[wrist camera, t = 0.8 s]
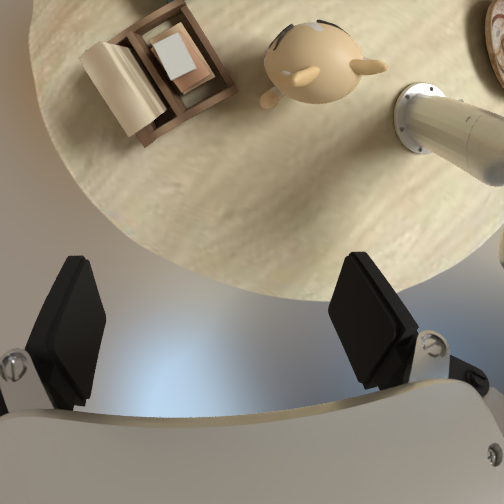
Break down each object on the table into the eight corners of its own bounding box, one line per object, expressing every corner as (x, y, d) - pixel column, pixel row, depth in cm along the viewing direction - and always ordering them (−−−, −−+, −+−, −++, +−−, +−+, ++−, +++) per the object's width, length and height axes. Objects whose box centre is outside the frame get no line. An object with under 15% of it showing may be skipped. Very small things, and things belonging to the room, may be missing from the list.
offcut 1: (179, 34, 25) (177, 32, 24) (197, 68, 28) (195, 68, 27) (156, 46, 26) (152, 44, 24) (173, 80, 29) (170, 80, 27)
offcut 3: (181, 32, 27) (179, 29, 25) (211, 74, 31) (210, 74, 29) (154, 50, 28) (150, 48, 26) (183, 91, 32) (181, 92, 30)
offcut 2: (183, 25, 29) (180, 22, 26) (215, 76, 34) (215, 76, 31) (153, 43, 29) (149, 40, 27) (186, 93, 34) (183, 94, 32)
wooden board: (136, 49, 29) (98, 41, 18) (171, 105, 35) (150, 122, 23) (121, 60, 30) (78, 58, 18) (156, 115, 35) (129, 137, 24)
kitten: (339, 24, 30) (398, 10, 17) (355, 86, 35) (416, 100, 23) (236, 42, 31) (248, 24, 18) (257, 108, 36) (280, 127, 24)
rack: (184, 3, 26) (179, -8, 21) (236, 90, 35) (240, 93, 30) (101, 55, 28) (84, 54, 24) (153, 137, 37) (144, 147, 32)
